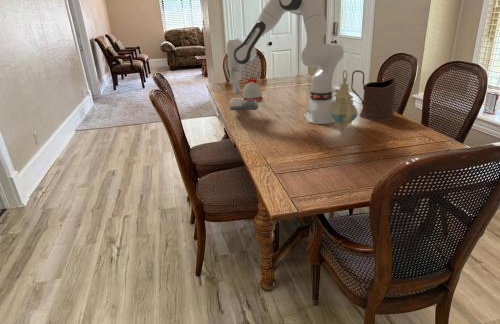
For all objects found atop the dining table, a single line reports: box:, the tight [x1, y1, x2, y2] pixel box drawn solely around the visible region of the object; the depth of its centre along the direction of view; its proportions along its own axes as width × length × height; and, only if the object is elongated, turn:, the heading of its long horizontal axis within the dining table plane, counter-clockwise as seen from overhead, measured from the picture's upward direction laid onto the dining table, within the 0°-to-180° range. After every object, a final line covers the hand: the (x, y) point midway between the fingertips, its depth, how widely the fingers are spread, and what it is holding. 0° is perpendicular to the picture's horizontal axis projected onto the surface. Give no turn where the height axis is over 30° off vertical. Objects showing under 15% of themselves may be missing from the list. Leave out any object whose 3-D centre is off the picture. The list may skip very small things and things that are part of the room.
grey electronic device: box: [229, 97, 258, 110], centre depth 222 cm, size 12×16×5 cm
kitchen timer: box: [241, 76, 263, 101], centre depth 240 cm, size 14×14×15 cm
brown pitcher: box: [350, 69, 397, 122], centre depth 187 cm, size 18×24×25 cm
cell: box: [232, 80, 240, 95], centre depth 218 cm, size 4×4×9 cm
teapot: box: [329, 69, 359, 134], centre depth 163 cm, size 24×12×30 cm, turn 2°
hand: (236, 88), depth 219 cm, fingers closed on cell, 4 cm apart
